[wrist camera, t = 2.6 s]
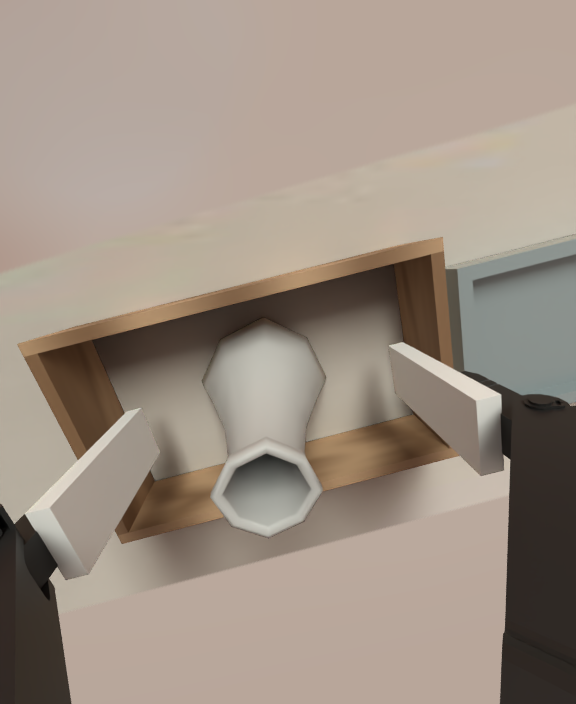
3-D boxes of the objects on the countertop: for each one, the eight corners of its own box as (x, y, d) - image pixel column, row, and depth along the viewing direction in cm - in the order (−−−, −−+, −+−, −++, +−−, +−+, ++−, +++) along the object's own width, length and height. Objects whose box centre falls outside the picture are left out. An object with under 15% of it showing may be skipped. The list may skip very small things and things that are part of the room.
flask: (345, 374, 19) (431, 484, 9) (266, 448, 20) (270, 617, 10) (262, 294, 17) (262, 326, 7) (181, 380, 18) (87, 506, 8)
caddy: (149, 490, 20) (121, 543, 16) (74, 327, 17) (16, 344, 13) (422, 419, 20) (460, 455, 16) (401, 244, 17) (442, 237, 13)
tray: (451, 416, 20) (468, 429, 18) (438, 269, 17) (457, 269, 16) (618, 372, 20) (650, 382, 19) (631, 220, 18) (671, 214, 16)
